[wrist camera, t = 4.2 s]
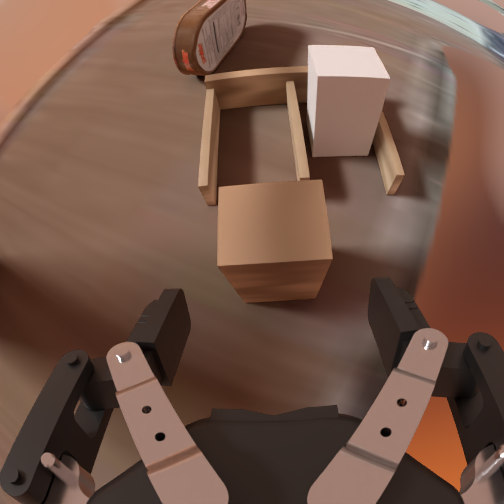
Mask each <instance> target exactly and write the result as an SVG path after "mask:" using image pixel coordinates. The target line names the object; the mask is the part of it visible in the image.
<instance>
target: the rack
mask: <svg viewBox="0 0 504 504" xmlns="http://www.w3.org/2000/svg"><path fill="white" fill-rule="evenodd" d="M204 82H205V85H206V88H207V92H206V101H205V111H204V121H203V131H202V143H201V154H200V167H199V181H198V187H199V189H200V191H201V193H202V195H203V197H204V199H205V201H206V203H207V205H216V195H217V167H218V143H219V123H220V110H222V109H230V108H238V107H248V106H259V105H271V104H286V103H287V107H288V113H289V120H290V128H291V135H292V142H293V150H294V158H295V166H296V174H297V181H303V180H310V175H309V168H308V162H307V155H306V148H305V142H304V136H303V130H302V124H301V118H300V112H299V107H298V103H307V95H308V66H295V67H276V68H263V69H252V70H242V71H234V72H226V73H219V74H212V75H206V76H205V81H204ZM372 143H373V147H374V150H375V153H376V157H377V160H378V164H379V167H380V171H381V175H382V179H383V182H384V186H385V190H386V194H387V195H394V194H395V192H396V190H397V188H398V187H399V185H400V183H401V181H402V179H403V177H404V176H405V174H404V171H403V168H402V164H401V161H400V158H399V155H398V152H397V149H396V146H395V143H394V140H393V137H392V135H391V132H390V129H389V126H388V124H387V121H386V118H385V116H384V113H383V111H381V115H380V118H379V121H378V125H377V128H376V131H375V135H374V138H373V141H372Z"/></svg>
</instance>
